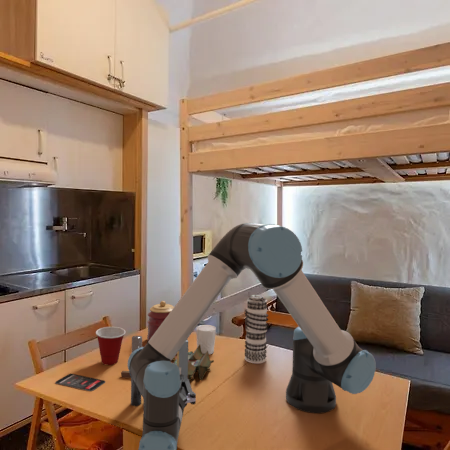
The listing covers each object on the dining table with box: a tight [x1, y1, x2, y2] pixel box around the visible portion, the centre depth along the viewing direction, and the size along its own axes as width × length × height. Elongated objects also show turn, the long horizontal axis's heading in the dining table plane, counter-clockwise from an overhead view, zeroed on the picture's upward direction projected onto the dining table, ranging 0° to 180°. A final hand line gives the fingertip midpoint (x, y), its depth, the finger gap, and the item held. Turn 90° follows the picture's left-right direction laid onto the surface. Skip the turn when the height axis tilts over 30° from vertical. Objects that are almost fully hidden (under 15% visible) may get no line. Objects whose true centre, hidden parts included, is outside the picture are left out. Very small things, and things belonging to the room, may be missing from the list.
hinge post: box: [130, 335, 143, 407], centre depth 111 cm, size 3×3×20 cm
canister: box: [147, 300, 175, 342], centre depth 165 cm, size 13×13×18 cm
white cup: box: [195, 324, 217, 355], centre depth 152 cm, size 8×8×10 cm
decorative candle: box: [244, 294, 269, 364], centre depth 146 cm, size 9×9×25 cm
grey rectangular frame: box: [179, 339, 189, 398], centre depth 113 cm, size 12×2×18 cm, turn 106°
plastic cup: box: [95, 326, 126, 366], centre depth 140 cm, size 11×11×12 cm
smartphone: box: [54, 373, 106, 392], centre depth 123 cm, size 7×1×15 cm
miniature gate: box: [120, 344, 214, 382], centre depth 135 cm, size 27×6×30 cm
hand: (178, 371), depth 113 cm, fingers closed
